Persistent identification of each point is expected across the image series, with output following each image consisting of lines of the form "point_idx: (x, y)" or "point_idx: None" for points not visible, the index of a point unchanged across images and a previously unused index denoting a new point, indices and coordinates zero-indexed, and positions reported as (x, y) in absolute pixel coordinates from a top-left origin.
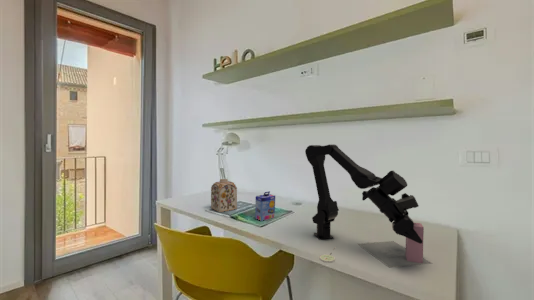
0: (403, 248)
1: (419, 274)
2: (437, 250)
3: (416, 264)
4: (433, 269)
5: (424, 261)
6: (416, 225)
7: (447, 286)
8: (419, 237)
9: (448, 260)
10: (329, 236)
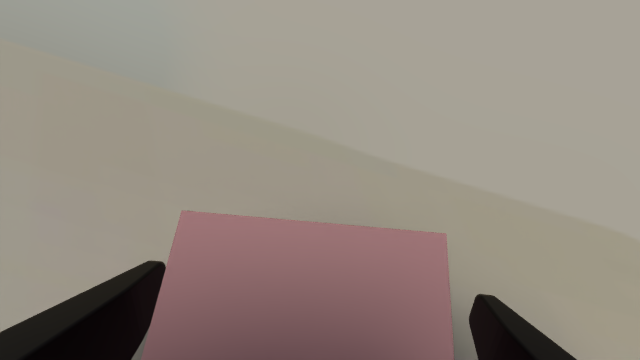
0: (136, 358)
1: None
2: (136, 144)
3: None
4: None
5: None
6: (368, 351)
7: (575, 233)
8: (554, 347)
9: (261, 134)
10: None
